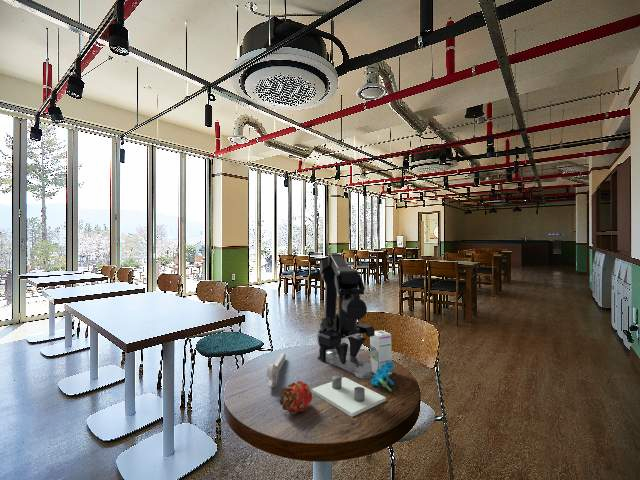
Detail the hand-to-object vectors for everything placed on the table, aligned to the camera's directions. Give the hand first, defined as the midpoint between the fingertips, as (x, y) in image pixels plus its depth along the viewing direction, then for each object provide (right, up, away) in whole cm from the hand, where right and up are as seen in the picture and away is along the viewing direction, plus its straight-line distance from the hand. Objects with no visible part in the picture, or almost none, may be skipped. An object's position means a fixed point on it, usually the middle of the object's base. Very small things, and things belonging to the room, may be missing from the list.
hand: (347, 362), depth 98 cm
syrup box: (+13, -11, +17) cm, 24 cm away
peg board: (0, -10, 0) cm, 10 cm away
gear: (+12, -11, +7) cm, 18 cm away
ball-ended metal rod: (0, -2, 0) cm, 2 cm away
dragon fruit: (-15, -11, -8) cm, 20 cm away
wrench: (-24, -11, +16) cm, 30 cm away
